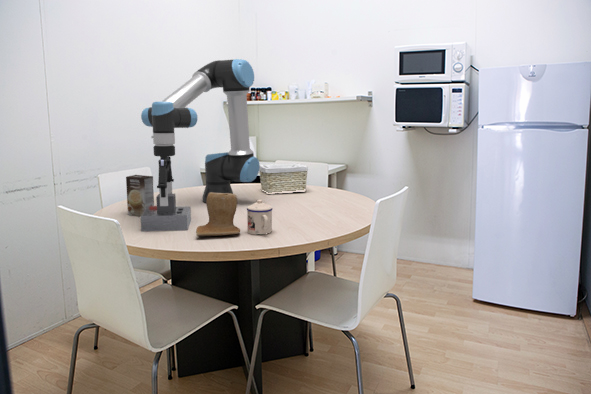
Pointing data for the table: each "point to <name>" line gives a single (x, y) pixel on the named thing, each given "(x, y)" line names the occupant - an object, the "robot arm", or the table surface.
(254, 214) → the teacup with lid
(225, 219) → the brown wooden upright piece
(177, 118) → the robot arm
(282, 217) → the table surface
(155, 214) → the socket plate
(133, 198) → the coffee box
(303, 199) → the table surface
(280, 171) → the storage basket
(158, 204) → the plug
